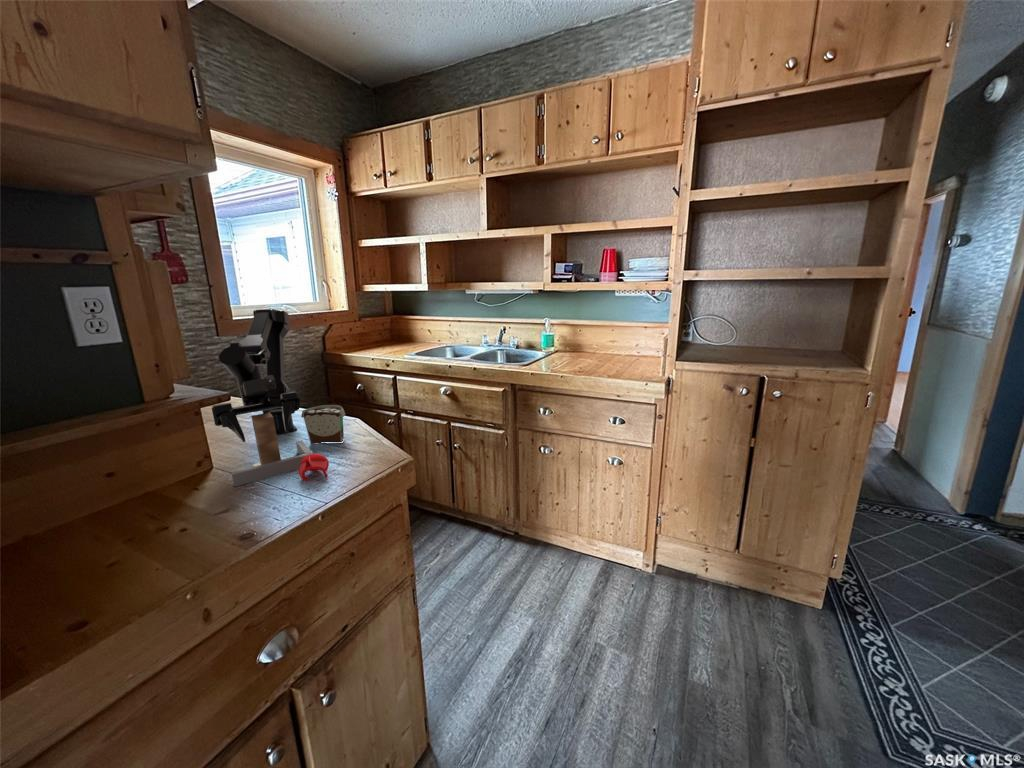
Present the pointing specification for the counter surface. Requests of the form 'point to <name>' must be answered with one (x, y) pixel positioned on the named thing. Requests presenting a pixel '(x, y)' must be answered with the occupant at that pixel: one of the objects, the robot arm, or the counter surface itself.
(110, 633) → the counter surface
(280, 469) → the grey long angled bar
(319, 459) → the cap
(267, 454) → the walnut block
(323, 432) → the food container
